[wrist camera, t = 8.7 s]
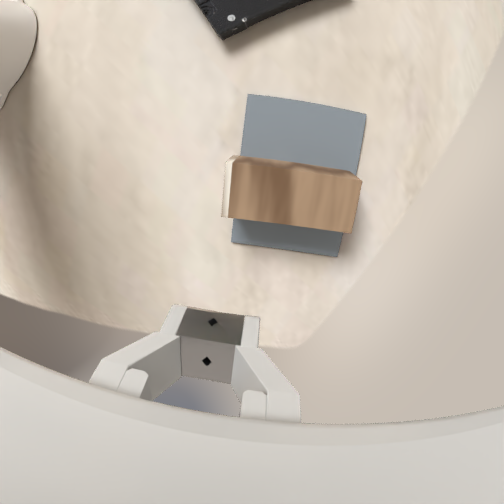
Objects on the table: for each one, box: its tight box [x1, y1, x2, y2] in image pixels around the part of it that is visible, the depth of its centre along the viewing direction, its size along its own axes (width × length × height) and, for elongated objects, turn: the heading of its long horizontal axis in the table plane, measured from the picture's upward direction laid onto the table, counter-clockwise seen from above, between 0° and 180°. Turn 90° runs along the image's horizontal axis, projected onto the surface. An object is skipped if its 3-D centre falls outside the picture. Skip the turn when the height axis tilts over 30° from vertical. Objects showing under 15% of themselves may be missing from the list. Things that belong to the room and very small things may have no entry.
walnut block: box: [221, 155, 362, 233], centre depth 29 cm, size 5×5×12 cm
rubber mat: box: [231, 94, 366, 257], centre depth 31 cm, size 12×16×1 cm
